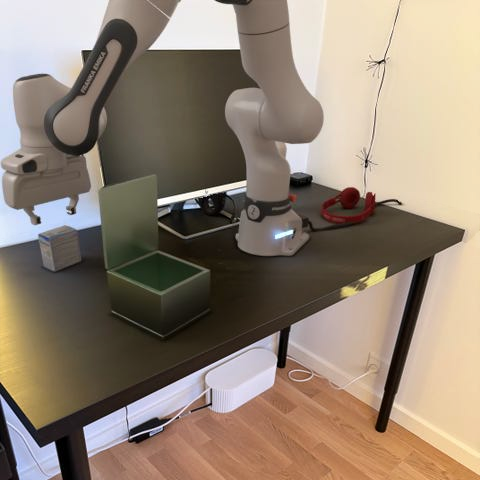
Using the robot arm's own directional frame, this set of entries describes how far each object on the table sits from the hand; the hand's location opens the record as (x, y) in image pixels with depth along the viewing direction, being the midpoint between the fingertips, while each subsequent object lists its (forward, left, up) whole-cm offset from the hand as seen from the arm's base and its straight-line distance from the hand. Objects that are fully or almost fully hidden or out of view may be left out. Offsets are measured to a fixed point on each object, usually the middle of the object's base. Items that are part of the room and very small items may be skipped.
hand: (54, 219), depth 112 cm
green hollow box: (+1, +34, -12) cm, 36 cm away
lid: (+1, +28, +6) cm, 28 cm away
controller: (-53, +2, -12) cm, 55 cm away
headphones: (-83, +36, -12) cm, 91 cm away
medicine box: (0, 0, -12) cm, 12 cm away
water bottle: (-68, +15, -12) cm, 71 cm away
